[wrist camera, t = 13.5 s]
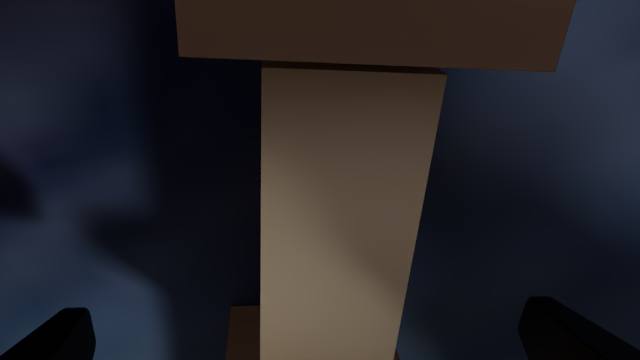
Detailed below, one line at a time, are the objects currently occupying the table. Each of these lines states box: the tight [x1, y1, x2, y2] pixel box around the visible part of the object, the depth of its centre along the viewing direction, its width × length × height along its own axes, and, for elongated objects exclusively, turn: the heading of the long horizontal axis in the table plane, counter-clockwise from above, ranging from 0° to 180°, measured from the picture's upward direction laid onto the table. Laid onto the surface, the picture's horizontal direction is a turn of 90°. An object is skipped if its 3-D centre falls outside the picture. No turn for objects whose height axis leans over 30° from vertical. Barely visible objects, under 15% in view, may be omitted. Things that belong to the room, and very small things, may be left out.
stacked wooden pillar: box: [175, 0, 576, 360], centre depth 9 cm, size 15×12×4 cm
